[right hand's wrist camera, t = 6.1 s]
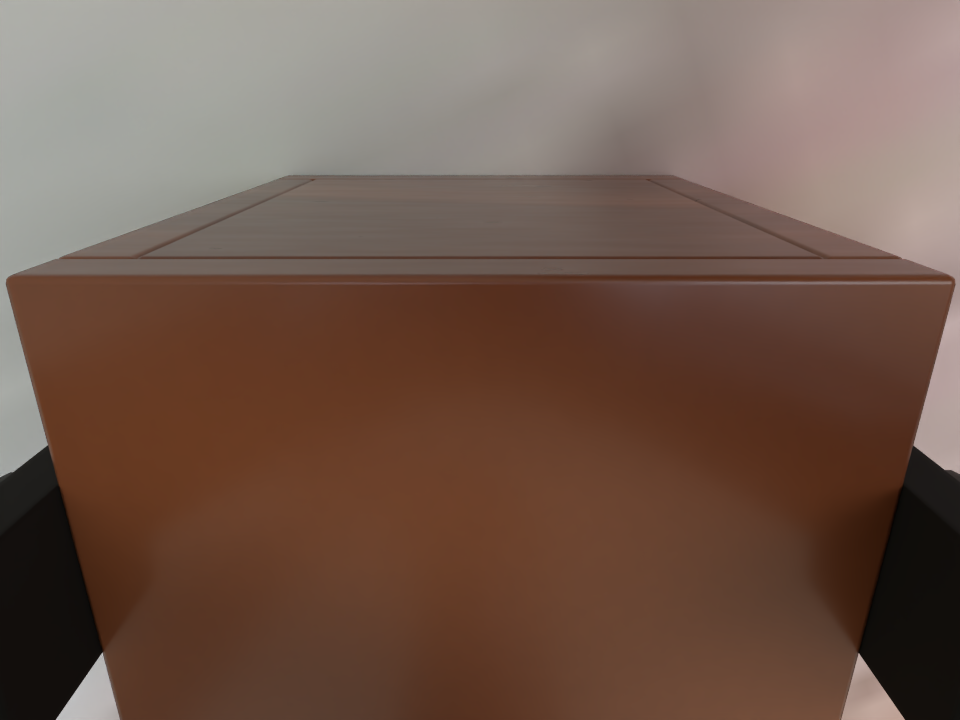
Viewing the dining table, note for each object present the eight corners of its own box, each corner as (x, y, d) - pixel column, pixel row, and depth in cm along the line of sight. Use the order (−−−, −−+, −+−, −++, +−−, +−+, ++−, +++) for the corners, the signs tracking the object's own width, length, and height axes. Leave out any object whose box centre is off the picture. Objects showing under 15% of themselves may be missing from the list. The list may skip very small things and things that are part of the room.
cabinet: (620, 716, 25) (724, 1171, 14) (340, 715, 25) (236, 1170, 14) (675, 175, 18) (961, 276, 7) (286, 175, 18) (-1, 276, 7)
